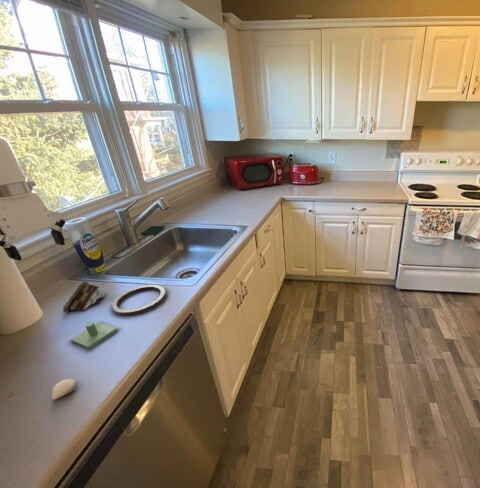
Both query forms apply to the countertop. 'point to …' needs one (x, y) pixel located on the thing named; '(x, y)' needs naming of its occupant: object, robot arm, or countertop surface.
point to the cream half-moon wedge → (63, 388)
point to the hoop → (142, 309)
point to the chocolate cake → (84, 296)
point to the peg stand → (93, 334)
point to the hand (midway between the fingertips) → (40, 251)
